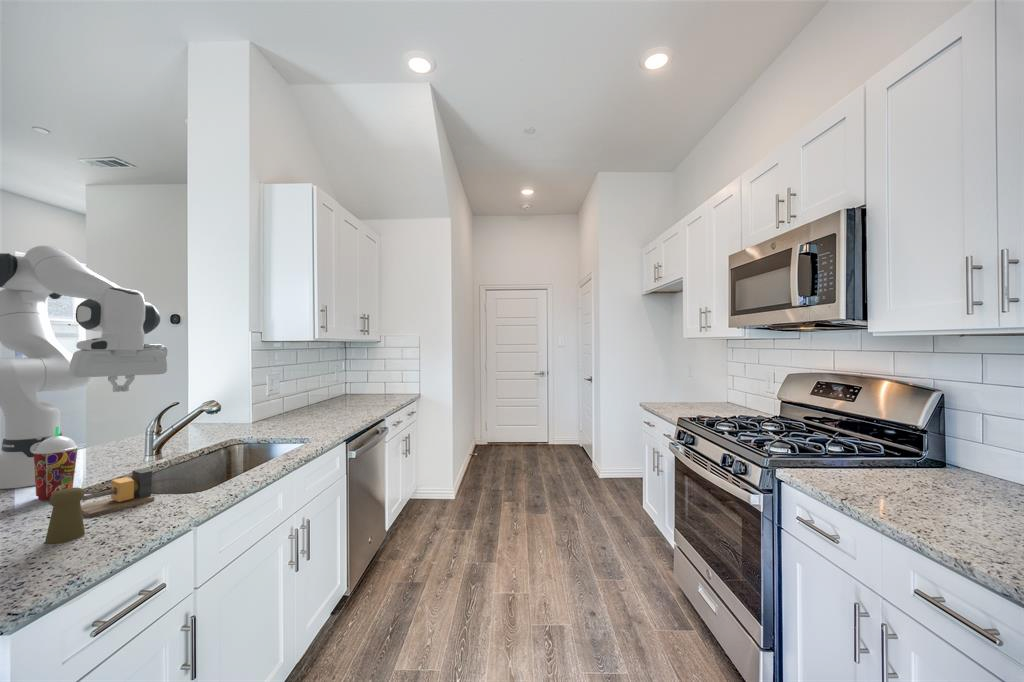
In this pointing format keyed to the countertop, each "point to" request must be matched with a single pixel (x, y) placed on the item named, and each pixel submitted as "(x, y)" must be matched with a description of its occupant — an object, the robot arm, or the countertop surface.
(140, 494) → the sliding block toy
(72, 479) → the smoothie
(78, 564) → the countertop surface
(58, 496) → the cork
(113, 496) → the sleeve
